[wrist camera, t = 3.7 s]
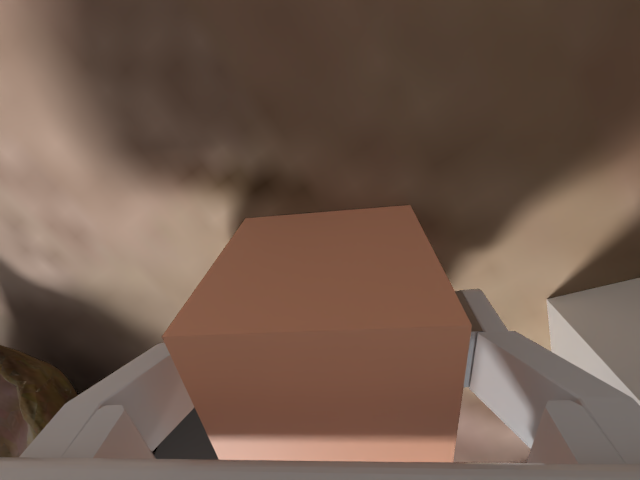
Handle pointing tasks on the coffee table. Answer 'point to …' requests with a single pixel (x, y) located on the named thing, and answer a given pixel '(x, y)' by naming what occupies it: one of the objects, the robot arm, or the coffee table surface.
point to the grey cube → (600, 333)
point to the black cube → (187, 441)
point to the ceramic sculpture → (28, 399)
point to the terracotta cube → (326, 341)
